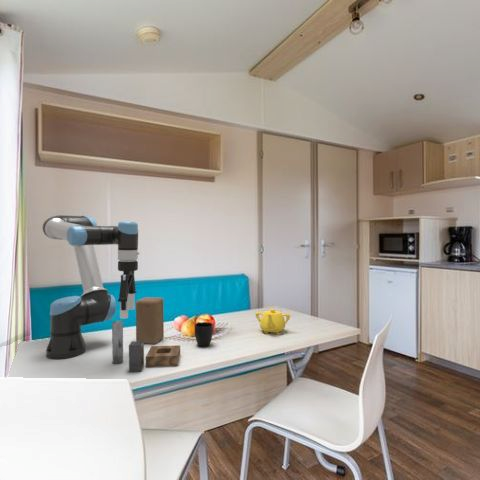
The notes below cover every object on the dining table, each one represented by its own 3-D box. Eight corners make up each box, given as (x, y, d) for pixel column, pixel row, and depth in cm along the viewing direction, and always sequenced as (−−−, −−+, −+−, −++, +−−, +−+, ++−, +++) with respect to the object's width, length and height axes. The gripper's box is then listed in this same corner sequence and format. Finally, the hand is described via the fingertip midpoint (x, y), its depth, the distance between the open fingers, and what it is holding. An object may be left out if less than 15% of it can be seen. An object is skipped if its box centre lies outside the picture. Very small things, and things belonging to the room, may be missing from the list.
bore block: (145, 367, 129) (145, 356, 129) (151, 355, 141) (151, 346, 140) (177, 365, 130) (177, 355, 130) (180, 354, 142) (180, 345, 141)
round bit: (111, 364, 131) (110, 323, 131) (114, 360, 135) (113, 321, 135) (121, 364, 132) (121, 323, 131) (124, 360, 136) (123, 320, 135)
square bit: (129, 372, 124) (128, 345, 124) (131, 367, 128) (131, 341, 128) (141, 371, 124) (141, 344, 124) (143, 367, 129) (143, 341, 129)
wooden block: (155, 344, 154) (154, 301, 154) (135, 343, 156) (134, 300, 156) (164, 338, 164) (164, 297, 164) (145, 337, 166) (145, 296, 166)
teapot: (252, 331, 176) (252, 308, 176) (274, 326, 183) (274, 305, 183) (269, 337, 164) (269, 313, 164) (291, 333, 172) (291, 310, 172)
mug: (207, 339, 162) (207, 319, 162) (215, 346, 151) (215, 325, 151) (190, 341, 159) (190, 321, 159) (197, 349, 148) (197, 327, 148)
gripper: (131, 264, 121) (131, 322, 122) (142, 257, 146) (142, 306, 147) (110, 264, 120) (109, 322, 121) (124, 257, 145) (124, 306, 146)
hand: (127, 313), depth 134 cm, fingers open, 13 cm apart
